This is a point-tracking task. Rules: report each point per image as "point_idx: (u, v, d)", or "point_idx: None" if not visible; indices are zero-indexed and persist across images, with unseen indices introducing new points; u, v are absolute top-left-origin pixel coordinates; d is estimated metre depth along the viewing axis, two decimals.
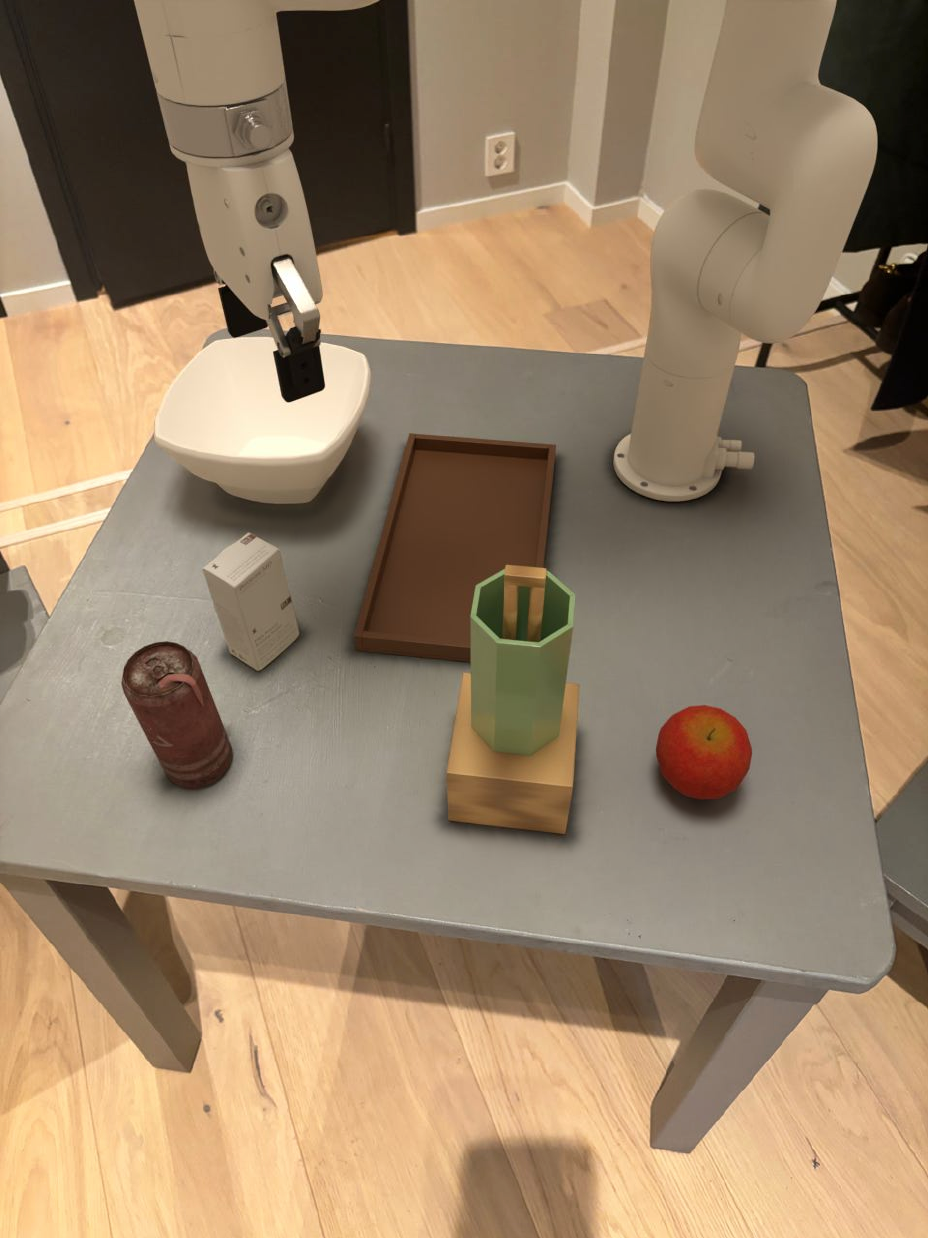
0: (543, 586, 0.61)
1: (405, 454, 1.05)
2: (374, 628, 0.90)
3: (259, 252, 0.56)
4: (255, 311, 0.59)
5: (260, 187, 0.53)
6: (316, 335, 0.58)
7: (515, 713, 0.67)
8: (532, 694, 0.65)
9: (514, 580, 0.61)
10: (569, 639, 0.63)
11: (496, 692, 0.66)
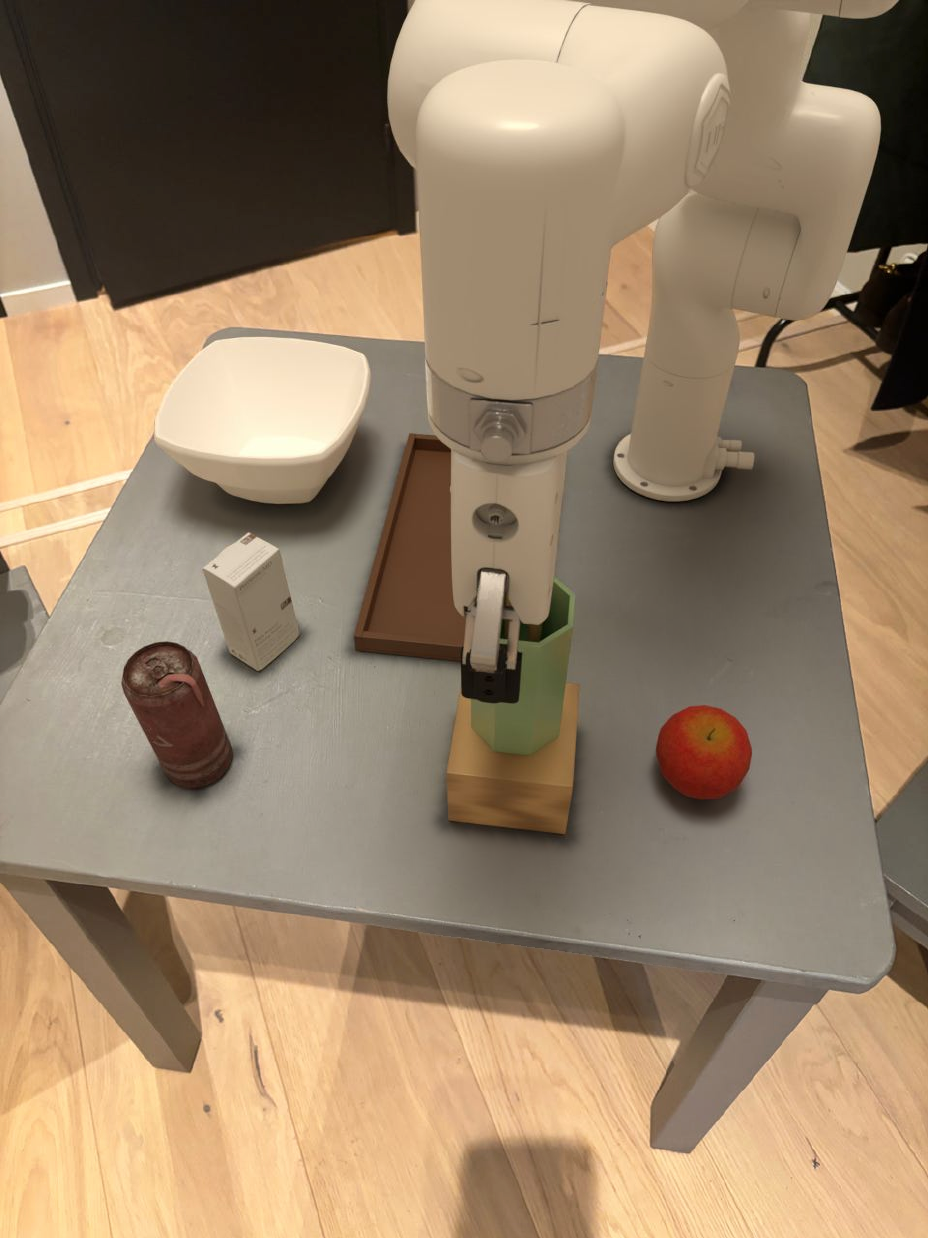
0: None
1: (405, 454, 1.05)
2: (374, 628, 0.90)
3: (467, 555, 0.42)
4: None
5: (488, 494, 0.39)
6: (495, 671, 0.44)
7: (515, 713, 0.67)
8: (532, 694, 0.65)
9: None
10: (569, 639, 0.63)
11: None
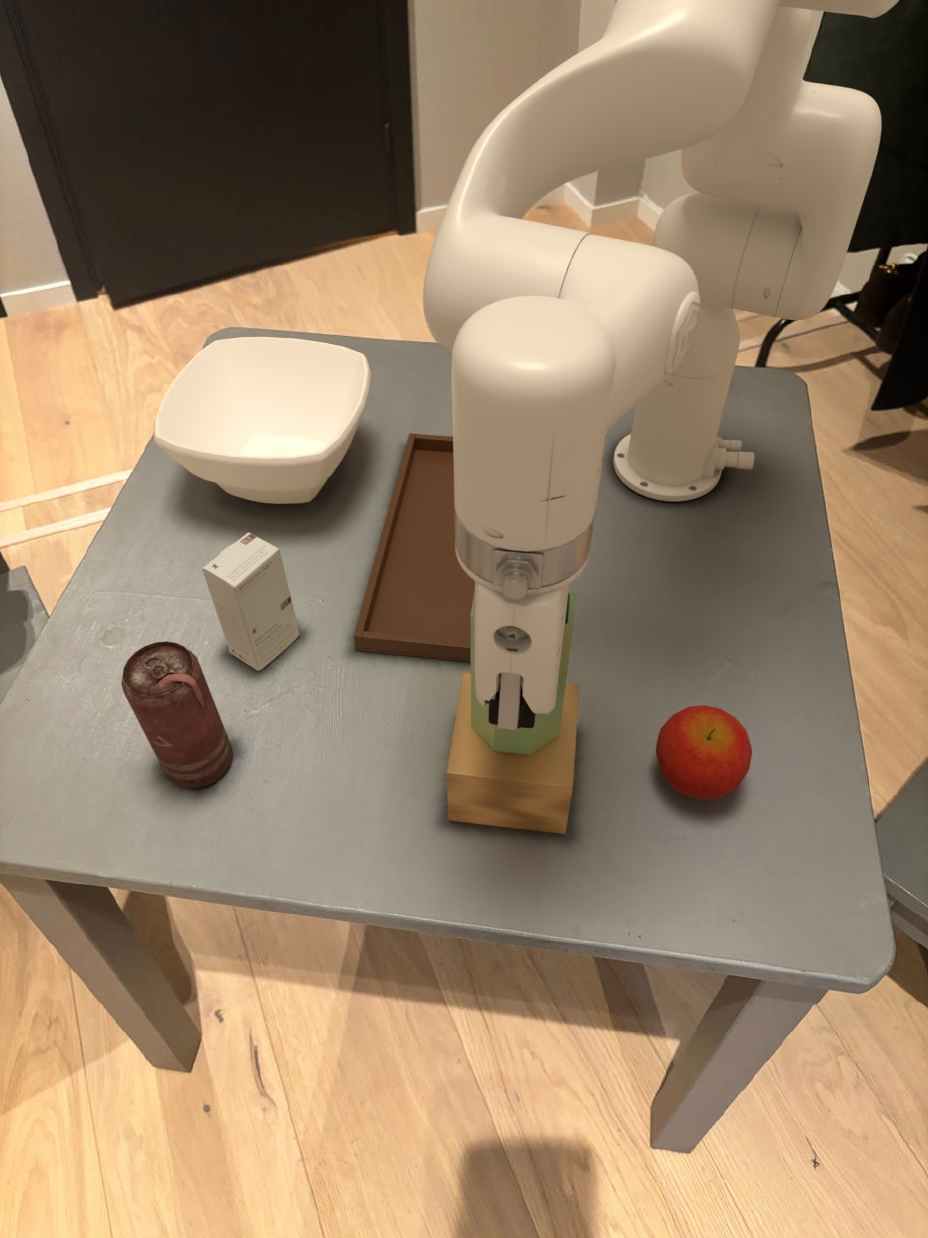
0: None
1: (405, 454, 1.05)
2: (374, 628, 0.90)
3: (488, 663, 0.51)
4: None
5: (506, 619, 0.48)
6: None
7: None
8: None
9: None
10: (569, 638, 0.63)
11: None
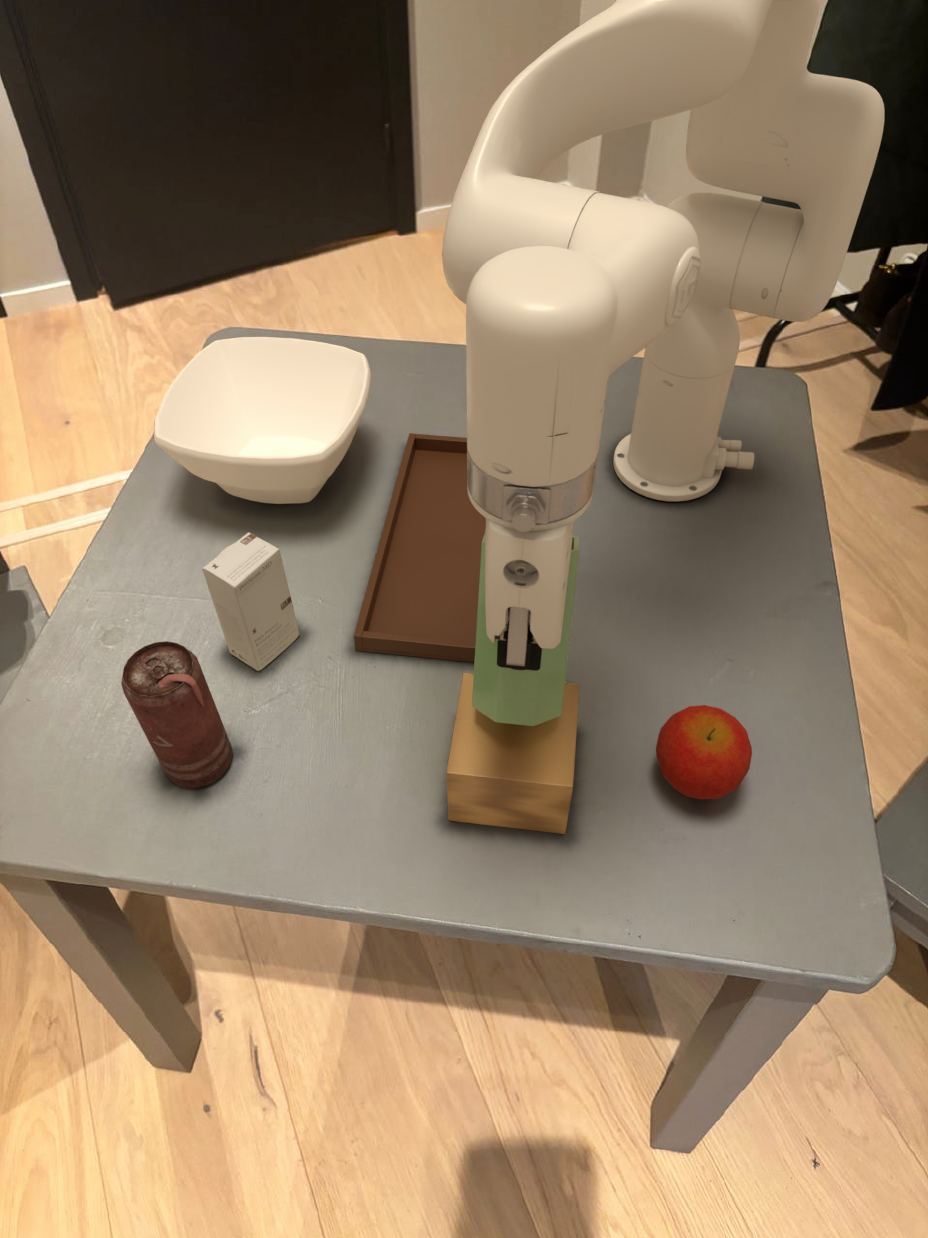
0: None
1: (405, 454, 1.05)
2: (374, 628, 0.90)
3: (498, 597, 0.54)
4: None
5: (516, 553, 0.52)
6: None
7: None
8: None
9: None
10: (575, 567, 0.66)
11: None
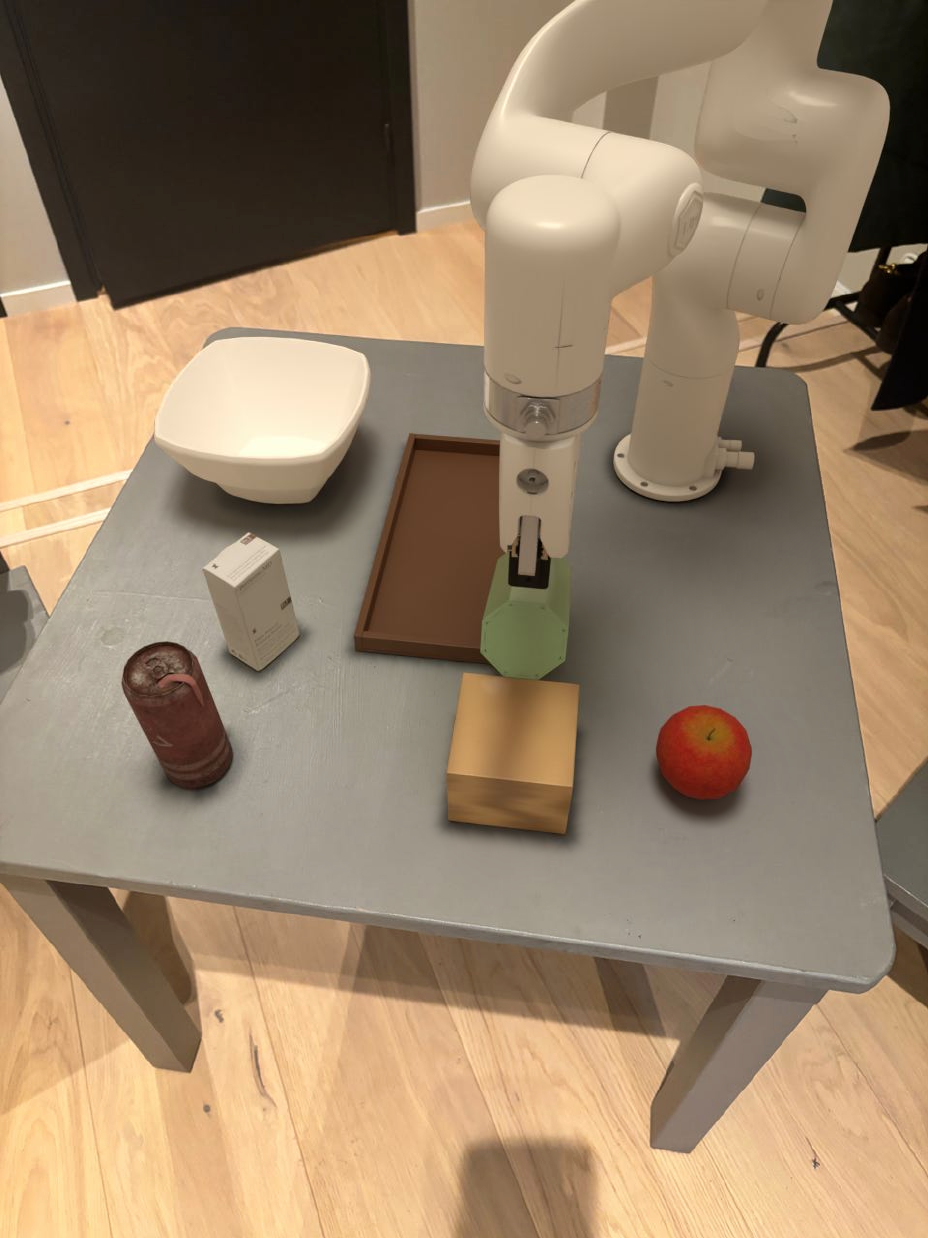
0: None
1: (405, 454, 1.05)
2: (374, 628, 0.90)
3: (511, 506, 0.59)
4: None
5: (528, 462, 0.57)
6: None
7: None
8: None
9: None
10: (570, 569, 0.85)
11: None
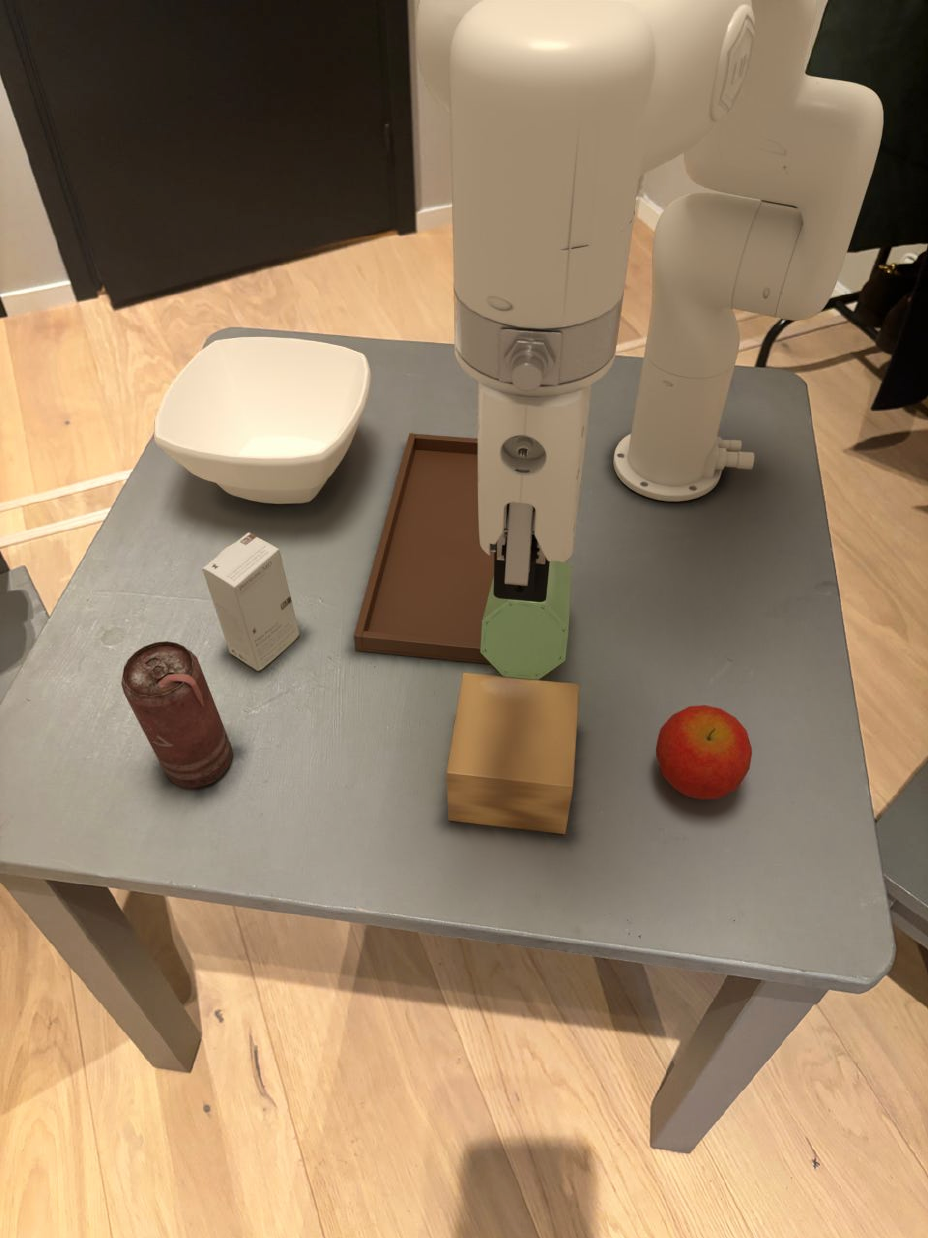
0: None
1: (405, 454, 1.05)
2: (374, 628, 0.90)
3: (494, 490, 0.42)
4: None
5: (516, 426, 0.40)
6: None
7: None
8: None
9: None
10: (570, 569, 0.85)
11: None
